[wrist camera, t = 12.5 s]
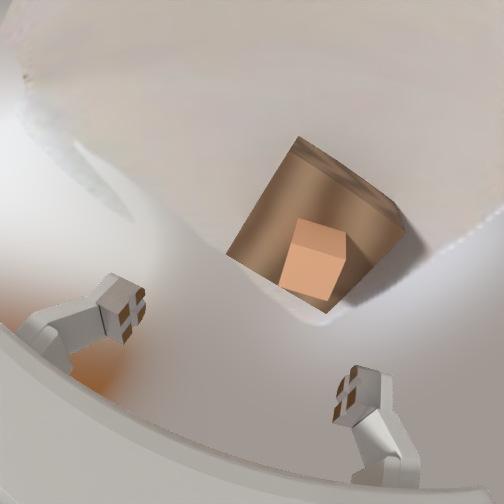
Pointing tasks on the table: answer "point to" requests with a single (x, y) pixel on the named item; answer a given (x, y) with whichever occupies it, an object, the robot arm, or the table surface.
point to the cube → (314, 260)
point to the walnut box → (317, 219)
